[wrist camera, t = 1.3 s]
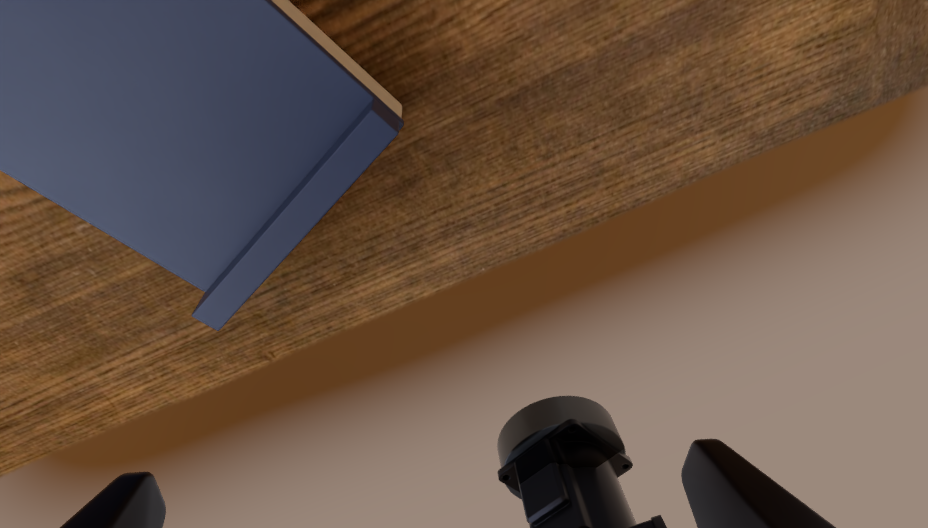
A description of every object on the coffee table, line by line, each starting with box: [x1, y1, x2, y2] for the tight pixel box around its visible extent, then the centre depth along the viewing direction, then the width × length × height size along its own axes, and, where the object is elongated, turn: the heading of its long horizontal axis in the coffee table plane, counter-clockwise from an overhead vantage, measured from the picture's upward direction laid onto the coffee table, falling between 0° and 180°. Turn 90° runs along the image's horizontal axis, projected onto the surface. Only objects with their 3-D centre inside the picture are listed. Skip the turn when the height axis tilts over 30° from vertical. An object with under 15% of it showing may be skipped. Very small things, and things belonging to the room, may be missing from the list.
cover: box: [0, 0, 404, 331], centre depth 13 cm, size 16×9×2 cm, turn 45°
